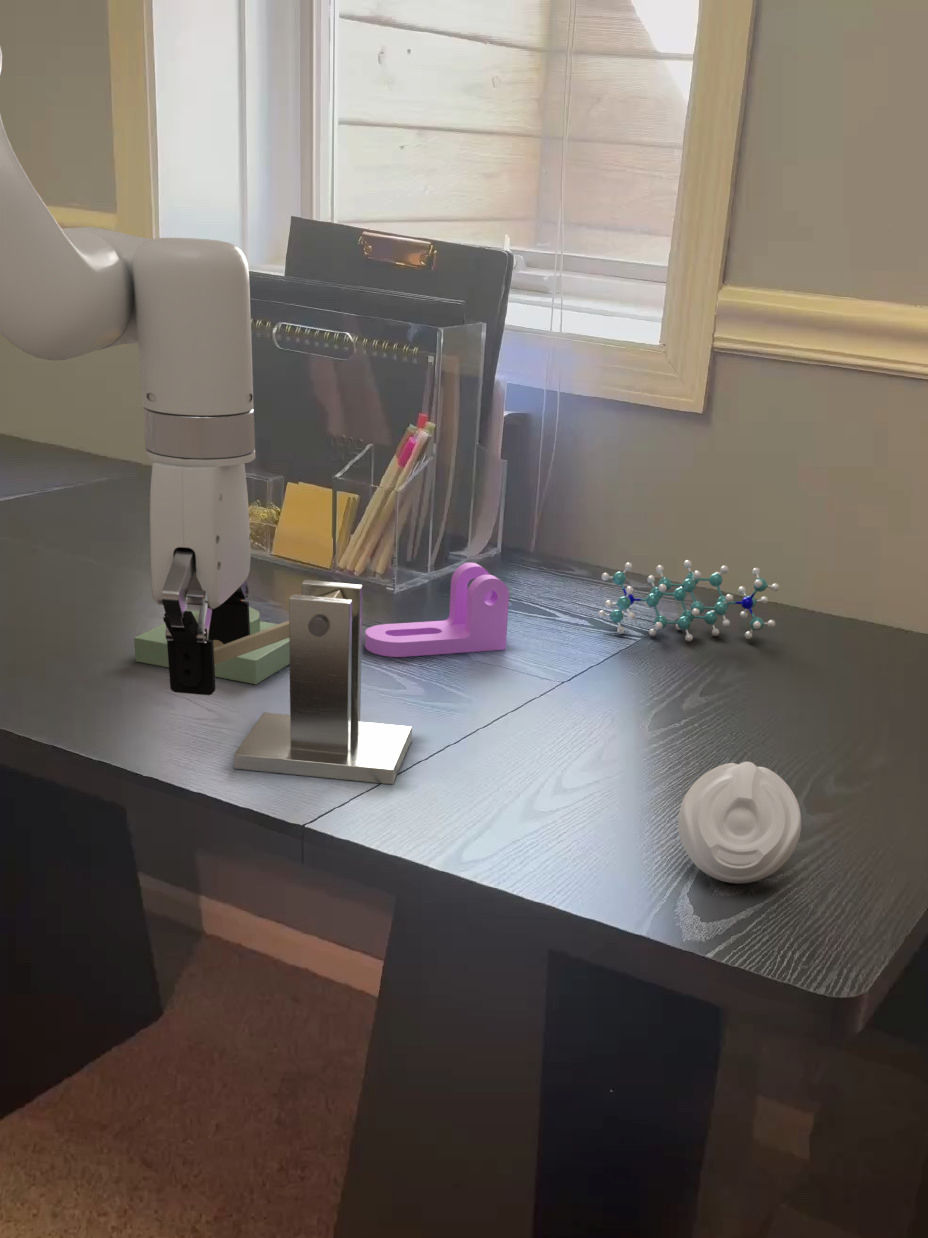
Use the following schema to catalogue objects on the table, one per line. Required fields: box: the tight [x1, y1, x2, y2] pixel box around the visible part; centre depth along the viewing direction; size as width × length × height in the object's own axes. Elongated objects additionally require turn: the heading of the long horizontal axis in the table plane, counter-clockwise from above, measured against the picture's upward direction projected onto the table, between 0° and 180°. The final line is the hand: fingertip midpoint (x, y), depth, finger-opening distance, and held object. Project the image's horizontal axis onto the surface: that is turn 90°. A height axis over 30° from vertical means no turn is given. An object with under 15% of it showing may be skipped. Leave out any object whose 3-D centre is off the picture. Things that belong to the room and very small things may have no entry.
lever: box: [213, 590, 353, 666], centre depth 102 cm, size 12×5×2 cm, turn 84°
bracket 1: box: [233, 579, 413, 785], centre depth 103 cm, size 12×9×13 cm
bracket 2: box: [364, 562, 510, 658], centre depth 130 cm, size 13×6×7 cm, turn 113°
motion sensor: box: [677, 761, 802, 884], centre depth 91 cm, size 8×8×8 cm
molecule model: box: [597, 559, 780, 643], centre depth 138 cm, size 8×18×7 cm, turn 96°
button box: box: [133, 606, 290, 685], centre depth 123 cm, size 12×10×4 cm
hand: (212, 670), depth 104 cm, fingers open, 9 cm apart
